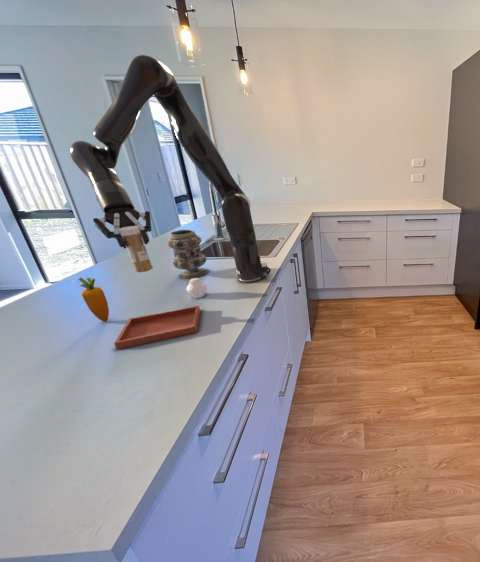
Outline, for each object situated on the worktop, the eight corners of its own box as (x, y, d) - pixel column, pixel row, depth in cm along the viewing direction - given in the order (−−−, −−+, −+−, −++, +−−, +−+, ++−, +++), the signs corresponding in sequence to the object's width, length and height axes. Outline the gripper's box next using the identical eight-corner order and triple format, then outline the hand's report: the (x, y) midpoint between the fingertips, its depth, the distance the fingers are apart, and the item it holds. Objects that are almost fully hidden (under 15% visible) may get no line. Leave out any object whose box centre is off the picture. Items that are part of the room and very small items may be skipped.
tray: (200, 310, 97) (198, 305, 96) (196, 332, 86) (194, 326, 85) (131, 324, 90) (128, 318, 89) (116, 349, 79) (114, 343, 78)
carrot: (119, 319, 93) (100, 274, 87) (102, 327, 89) (80, 281, 83) (109, 316, 95) (89, 273, 88) (91, 324, 90) (69, 279, 84)
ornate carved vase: (215, 271, 128) (204, 230, 120) (186, 281, 119) (173, 237, 111) (199, 266, 134) (188, 226, 126) (171, 275, 125) (157, 233, 117)
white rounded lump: (211, 295, 107) (206, 277, 104) (193, 301, 103) (187, 283, 100) (205, 290, 111) (200, 273, 108) (186, 296, 107) (181, 278, 104)
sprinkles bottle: (153, 270, 92) (137, 227, 86) (134, 274, 90) (117, 230, 84) (153, 266, 96) (138, 224, 90) (135, 269, 93) (119, 227, 88)
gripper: (79, 193, 83) (102, 243, 80) (141, 187, 92) (163, 232, 90) (85, 210, 89) (107, 257, 86) (143, 203, 98) (164, 246, 95)
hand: (135, 244), depth 88 cm, fingers closed on sprinkles bottle, 4 cm apart
